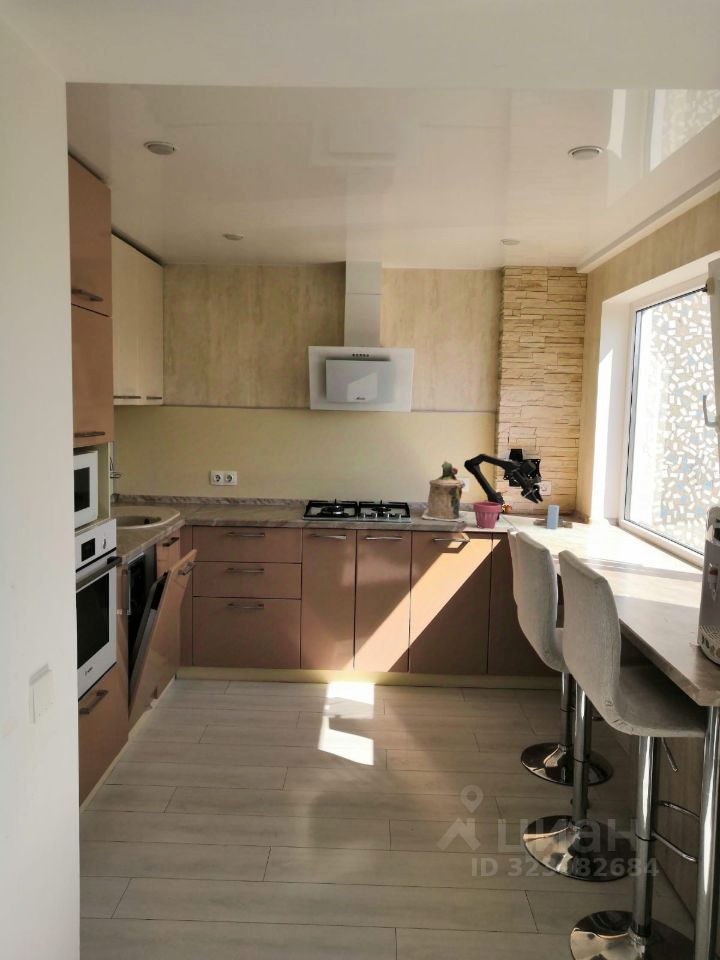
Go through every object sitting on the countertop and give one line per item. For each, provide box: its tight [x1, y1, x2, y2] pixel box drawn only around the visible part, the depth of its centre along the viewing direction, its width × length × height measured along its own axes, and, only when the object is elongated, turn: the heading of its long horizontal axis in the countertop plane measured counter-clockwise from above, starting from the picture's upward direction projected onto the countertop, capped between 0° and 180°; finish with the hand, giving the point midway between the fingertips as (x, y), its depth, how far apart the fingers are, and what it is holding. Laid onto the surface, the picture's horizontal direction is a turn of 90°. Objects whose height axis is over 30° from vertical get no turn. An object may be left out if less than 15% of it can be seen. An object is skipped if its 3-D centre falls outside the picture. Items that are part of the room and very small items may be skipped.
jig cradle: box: [534, 514, 573, 529], centre depth 415 cm, size 20×13×4 cm, turn 76°
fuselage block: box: [546, 504, 560, 531], centre depth 403 cm, size 5×5×12 cm
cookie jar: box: [421, 460, 468, 522], centre depth 420 cm, size 25×25×32 cm
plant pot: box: [472, 501, 501, 529], centre depth 397 cm, size 14×14×13 cm
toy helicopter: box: [483, 490, 513, 514], centre depth 446 cm, size 8×21×14 cm, turn 123°
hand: (540, 502), depth 406 cm, fingers open, 9 cm apart
